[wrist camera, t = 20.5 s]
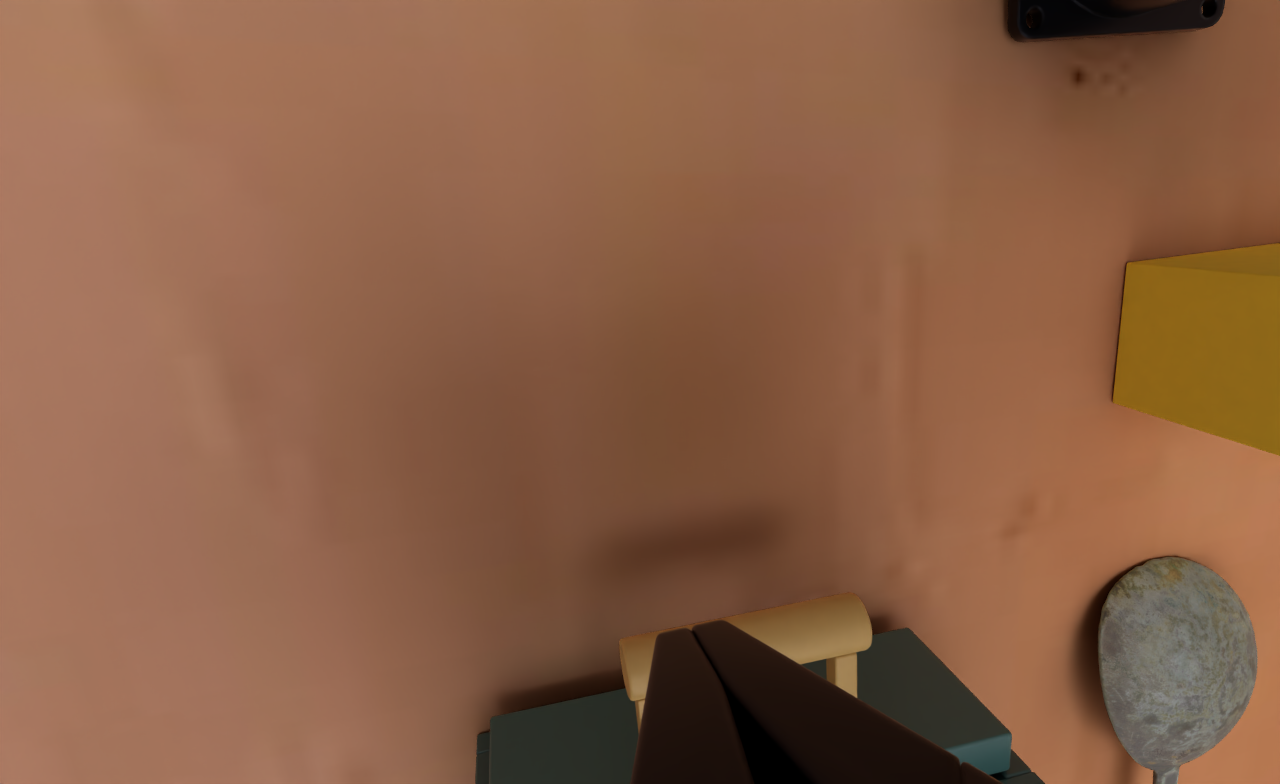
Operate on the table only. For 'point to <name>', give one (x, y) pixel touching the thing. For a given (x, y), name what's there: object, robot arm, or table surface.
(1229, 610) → the soupspoon
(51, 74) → the table surface
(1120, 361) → the sponge
